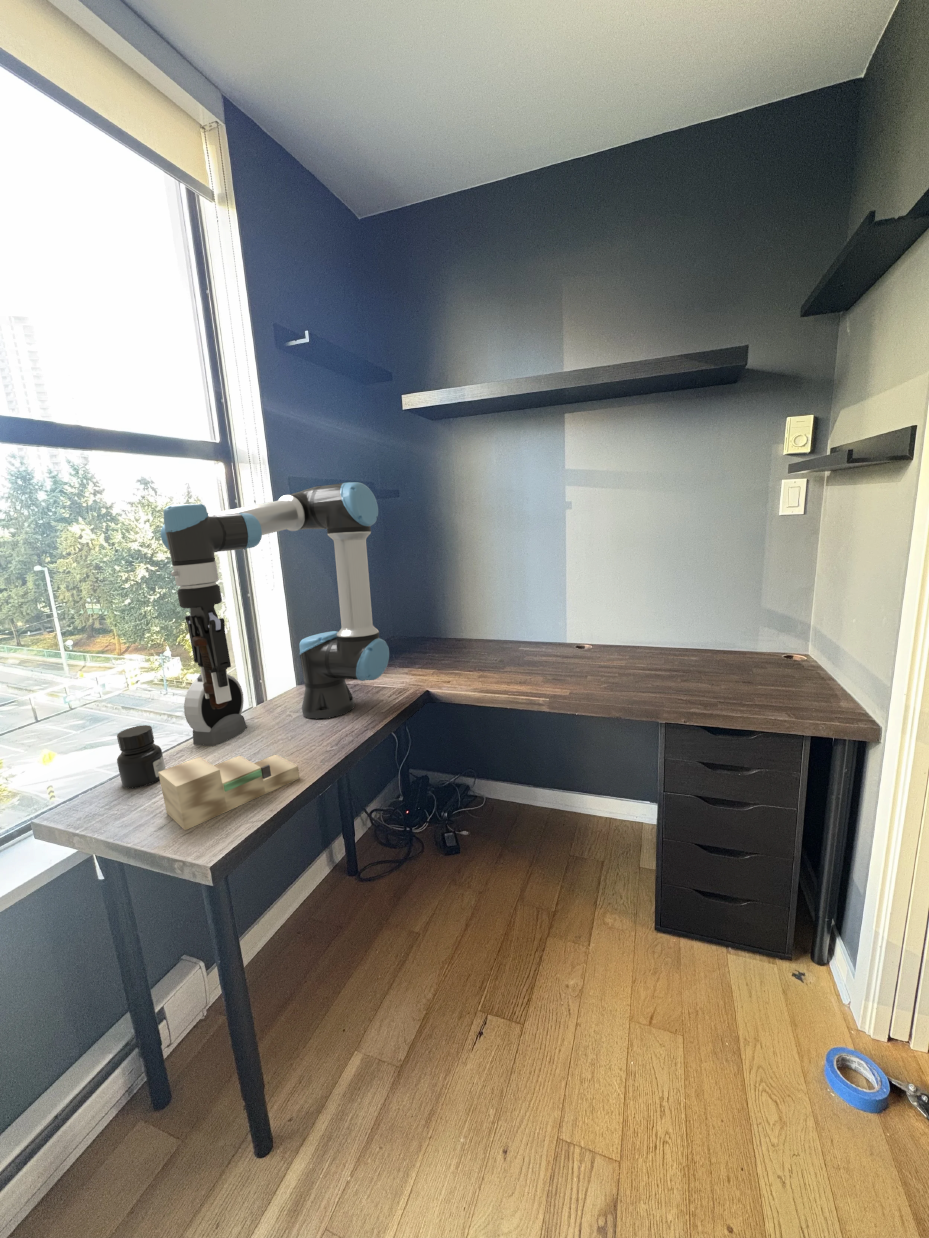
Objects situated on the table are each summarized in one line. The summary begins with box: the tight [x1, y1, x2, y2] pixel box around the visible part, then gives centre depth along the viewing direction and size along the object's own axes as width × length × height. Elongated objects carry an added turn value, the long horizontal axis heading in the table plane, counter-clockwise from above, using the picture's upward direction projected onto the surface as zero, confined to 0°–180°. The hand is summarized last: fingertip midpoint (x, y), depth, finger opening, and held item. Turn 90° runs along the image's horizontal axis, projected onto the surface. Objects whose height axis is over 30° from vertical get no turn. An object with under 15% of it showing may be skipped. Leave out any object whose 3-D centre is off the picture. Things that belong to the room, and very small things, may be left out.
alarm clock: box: [183, 673, 248, 747], centre depth 144 cm, size 16×10×18 cm, turn 161°
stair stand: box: [158, 754, 301, 831], centre depth 111 cm, size 24×11×9 cm, turn 137°
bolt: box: [192, 636, 227, 709], centre depth 106 cm, size 6×5×15 cm
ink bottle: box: [116, 724, 166, 789], centre depth 121 cm, size 10×9×12 cm
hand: (218, 698), depth 107 cm, fingers closed on bolt, 5 cm apart
